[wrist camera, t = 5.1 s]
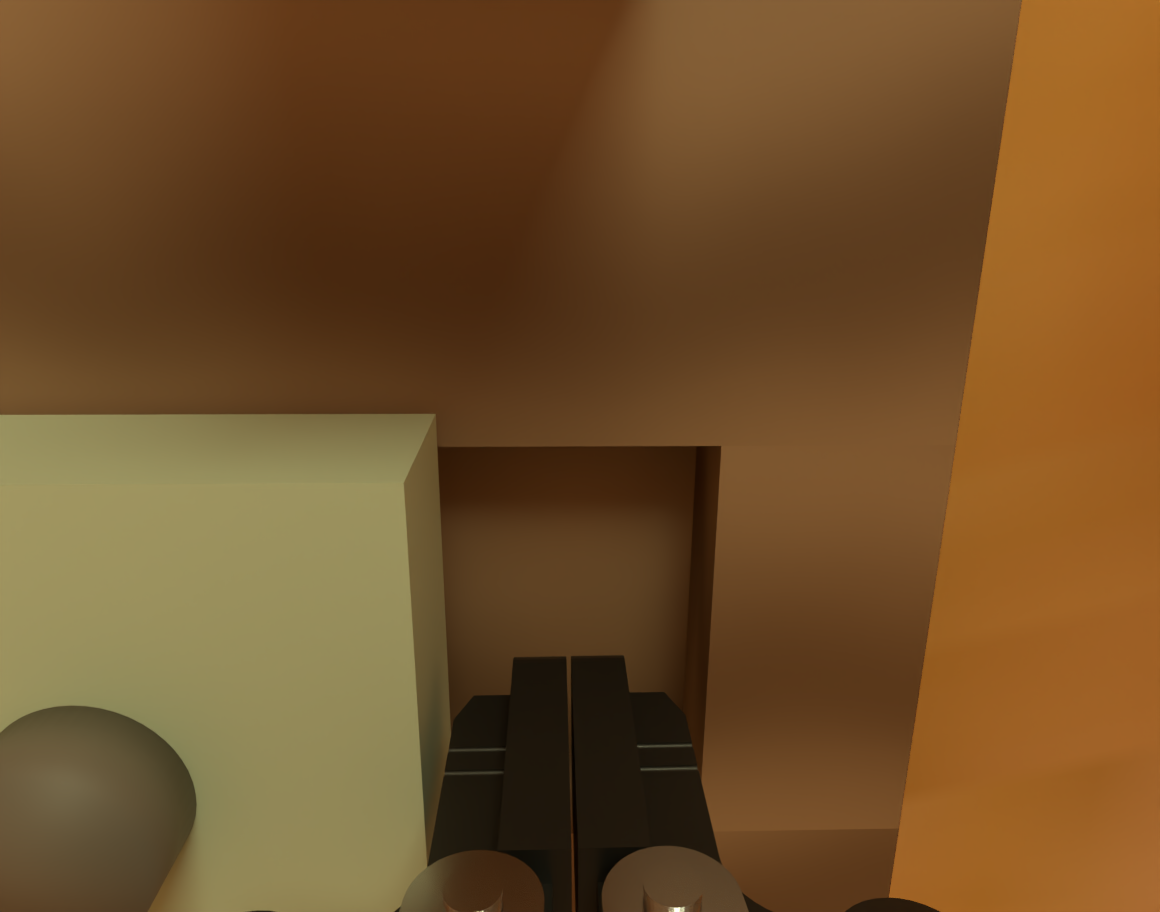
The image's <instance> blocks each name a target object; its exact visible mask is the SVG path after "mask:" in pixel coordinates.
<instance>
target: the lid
mask: <svg viewBox="0 0 1160 912" xmlns="http://www.w3.org/2000/svg"><path fill="white" fill-rule="evenodd" d="M450 737H451V724H450V703H449V682H448V661H447V640H446V619H445V598H444V578H443V557H442V536H441V515H440V494H439V473H438V452H437V431H436V414H161V415H0V912H248V911H257V910H260V911H275V912H394V911H395V910H397V909H398V908H399V907H400V906H401V904H402V900H403V898H404V896H405V893H406V891H407V889H408V887H409V886H410V884H411V883H412V881H413V880H414V879H415V878H416V877H417V876H418V875H419V874H420V873H421V872H422V871H423V870H424V869H426V868H427V865H428V860H429V855H430V849H431V843H432V838H433V832H434V827H435V821H436V815H437V810H438V804H439V799H440V793H441V788H442V782H443V776H444V775H445V765H446V760H447V754H448V753H449V743H450Z"/></svg>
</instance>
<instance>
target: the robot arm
mask: <svg viewBox="0 0 1160 912" xmlns="http://www.w3.org/2000/svg"><path fill="white" fill-rule="evenodd" d="M571 769H572V815H573V849H574V882H575V912H773V911H770V910H768V909H766V908H764V907H763V906H761V905H759V904H757V903H756V902H754V901H753V900H751V899H750V898H749V897H747V896H746V895H745V894H744V893H743V892H742V891H741V889H740V887H739V885H738V883H737V881H736V880H735V879H734V877H733V876H732V874H731V873H730V872H729V871H728V870H727V869H726V868H725V867H724V866H723V865H722V863H721V860H720V857H719V853H718V849H717V844H716V840H715V836H714V832H713V828H712V824H711V819H710V815H709V811H708V807H707V803H706V799H705V794H704V790H703V786H702V782H701V778H700V773H699V771H698V768H697V761H696V757H695V753H694V748H692V740H691V736H690V732H689V728H688V723H687V719H686V715H685V714H684V713H683V712H682V711H681V710H680V708H679V707H678V706H677V705H676V704H675V703H674V702H673V701H672V700H671V699H670V698H669V696H668V695H667V694H666V693H665V692H629V686H628V679H627V672H626V665H625V658H624V655H596V656H571ZM248 912H275V911H260V910H257V911H248ZM394 912H572V848H571V810H570V772H569V735H568V697H567V659H566V656H549V657H514V658H513V667H512V679H511V692H510V695H474V696H473V697H472V698H471V699H470V701H469V702H468V703H467V704H466V705H465V707H464V708H463V709H462V710H461V711H460V713H459V714H458V715H457V716H456V717H455V719H454V721H453V726H452V732H451V737H450V743H449V753H448V754H447V760H446V765H445V775H444V776H443V782H442V788H441V793H440V799H439V804H438V810H437V815H436V821H435V827H434V832H433V838H432V843H431V849H430V855H429V860H428V865H427V868H426V869H424V870H423V871H422V872H421V873H420V874H419V875H418V876H417V877H416V878H415V879H414V880H413V881H412V883H411V884H410V886H409V887H408V889H407V891H406V893H405V896H404V898H403V900H402V904H401V906H400V907H399V908H398V909H397V910H395V911H394ZM845 912H939V911H937V910H935V909H933V908H931V907H928V906H926V905H923V904H920V903H917V902H914V901H910V900H905V899H900V898H874V899H870V900H865V901H862V902H860V903H858V904H855V905H853V906H852V907H850V908H849V909H848V910H846V911H845Z"/></svg>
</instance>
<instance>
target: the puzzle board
mask: <svg viewBox="0 0 1160 912" xmlns="http://www.w3.org/2000/svg"><path fill="white" fill-rule="evenodd" d="M1021 2H1022V0H0V415H161V414H436V431H437V452H438V473H439V494H440V515H441V536H442V557H443V578H444V598H445V619H446V640H447V661H448V682H449V703H450V724H451V732H452V726H453V721H454V719H455V717H456V716H457V715H458V714H459V713H460V711H461V710H462V709H463V708H464V707H465V705H466V704H467V703H468V702H469V701H470V699H471V698H472V697H473V696H474V695H510V692H511V679H512V667H513V658H514V657H549V656H566V659H567V697H568V735H569V772H570V810H571V848H572V912H575V882H574V849H573V815H572V769H571V656H596V655H624V658H625V665H626V672H627V679H628V686H629V692H665V693H666V694H667V695H668V696H669V698H670V699H671V700H672V701H673V702H674V703H675V704H676V705H677V706H678V707H679V708H680V710H681V711H682V712H683V713H684V714H685V715H686V719H687V723H688V728H689V732H690V736H691V740H692V748H694V753H695V757H696V761H697V768H698V771H699V773H700V778H701V782H702V786H703V790H704V794H705V799H706V803H707V807H708V811H709V815H710V819H711V824H712V828H713V832H714V836H715V840H716V844H717V849H718V853H719V857H720V860H721V863H722V865H723V866H724V867H725V868H726V869H727V870H728V871H729V872H730V873H731V874H732V876H733V877H734V879H735V880H736V881H737V883H738V885H739V887H740V889H741V891H742V892H743V893H744V894H745V895H746V896H747V897H749V898H750V899H751V900H753V901H754V902H756V903H757V904H759V905H761V906H763V907H764V908H766V909H768V910H770V911H773V912H845V911H846V910H848V909H849V908H850V907H852V906H853V905H855V904H858V903H860V902H862V901H865V900H870V899H874V898H889V891H890V884H891V878H892V871H893V864H894V857H895V851H896V844H897V837H898V830H899V824H900V817H901V810H902V804H903V797H904V790H905V783H906V777H907V770H908V763H909V756H910V750H911V743H912V736H913V729H914V723H915V716H916V709H917V702H918V696H919V689H920V682H921V676H922V669H923V662H924V655H925V649H926V642H927V635H928V628H929V622H930V615H931V608H932V601H933V595H934V588H935V581H936V575H937V568H938V561H939V554H940V548H941V541H942V534H943V527H944V521H945V514H946V507H947V500H948V494H949V487H950V480H951V473H952V467H953V460H954V453H955V447H956V440H957V433H958V426H959V420H960V413H961V406H962V399H963V393H964V386H965V379H966V372H967V366H968V359H969V352H970V345H971V339H972V332H973V325H974V319H975V312H976V305H977V298H978V292H979V285H980V278H981V271H982V265H983V258H984V251H985V244H986V238H987V231H988V224H989V217H990V211H991V204H992V197H993V191H994V184H995V177H996V170H997V164H998V157H999V150H1000V143H1001V137H1002V130H1003V123H1004V116H1005V110H1006V103H1007V96H1008V90H1009V83H1010V76H1011V69H1012V63H1013V56H1014V49H1015V42H1016V36H1017V29H1018V22H1019V15H1020V9H1021Z"/></svg>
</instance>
